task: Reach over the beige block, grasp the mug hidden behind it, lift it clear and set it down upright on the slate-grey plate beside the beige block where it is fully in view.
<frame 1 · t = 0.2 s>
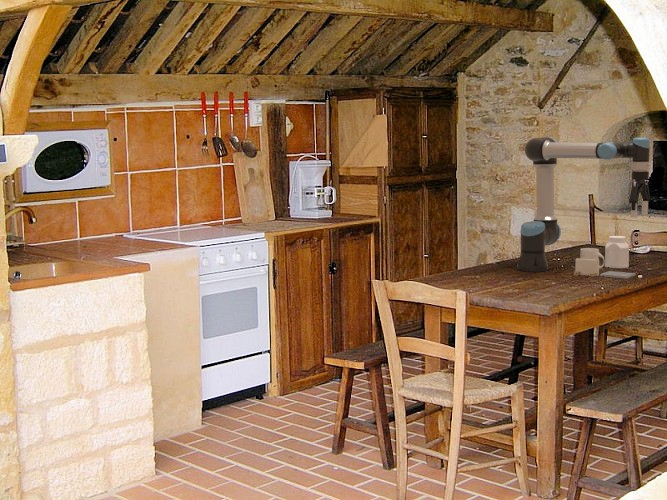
hand: (639, 216, 445), 28 cm above the table, fingers open, 13 cm apart
jar: (616, 267, 472), on the table
mug: (592, 271, 459), on the table
plate: (617, 275, 444), on the table
beige block: (587, 275, 448), on the table
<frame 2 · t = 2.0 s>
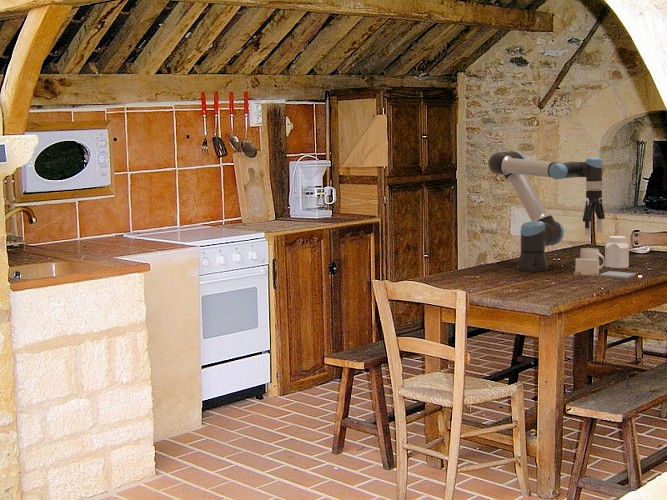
hand: (593, 233, 456), 18 cm above the table, fingers open, 13 cm apart
nothing on the table moved.
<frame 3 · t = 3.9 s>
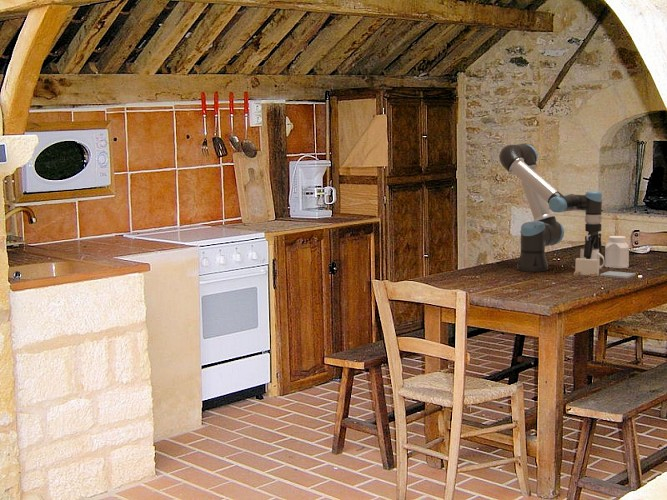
hand: (592, 269, 459), 1 cm above the table, fingers closed on mug, 9 cm apart
mug: (592, 271, 459), on the table, touching gripper
everything else where it was.
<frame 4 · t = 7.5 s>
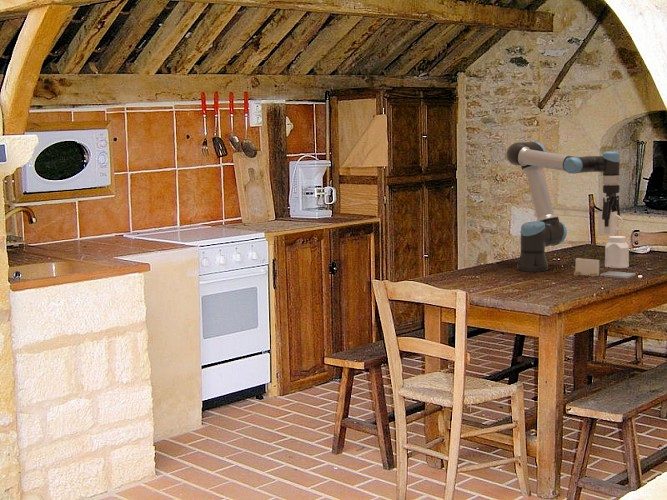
hand: (611, 232, 446), 20 cm above the table, fingers closed on mug, 9 cm apart
mug: (611, 234, 446), point 19 cm above the table, touching gripper
everything else where it was.
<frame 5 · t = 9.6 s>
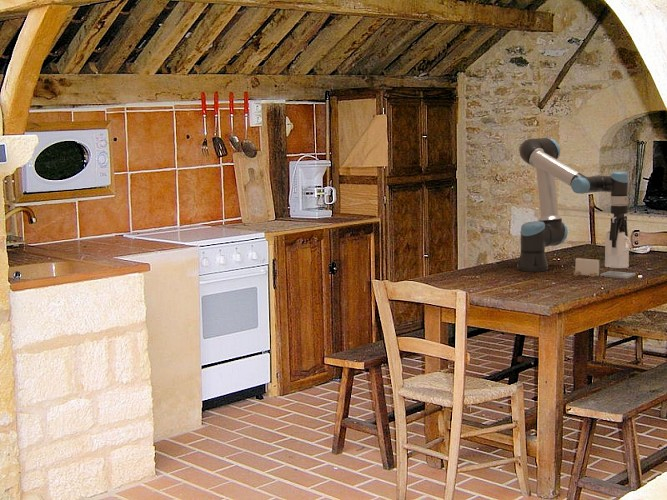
hand: (618, 253, 442), 11 cm above the table, fingers closed on mug, 9 cm apart
mug: (618, 255, 442), point 10 cm above the table, touching gripper
everything else where it was.
when the fingers open (3 cm above the table, at t = 11.4 s): mug drops 1 cm, resting on plate.
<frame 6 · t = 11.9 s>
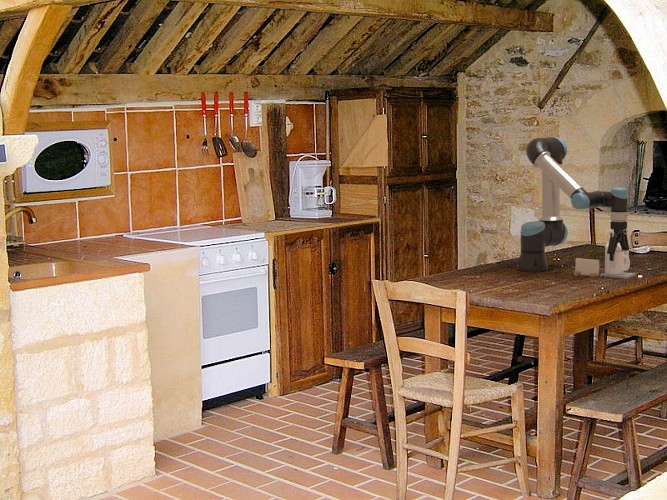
hand: (617, 266, 443), 5 cm above the table, fingers open, 13 cm apart
mug: (617, 274, 444), point 1 cm above the table, touching plate
everything else where it was.
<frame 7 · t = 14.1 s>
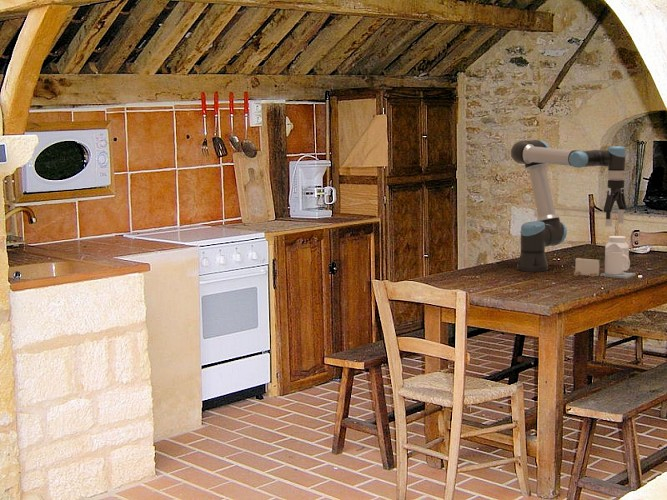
hand: (614, 224, 444), 24 cm above the table, fingers open, 13 cm apart
nothing on the table moved.
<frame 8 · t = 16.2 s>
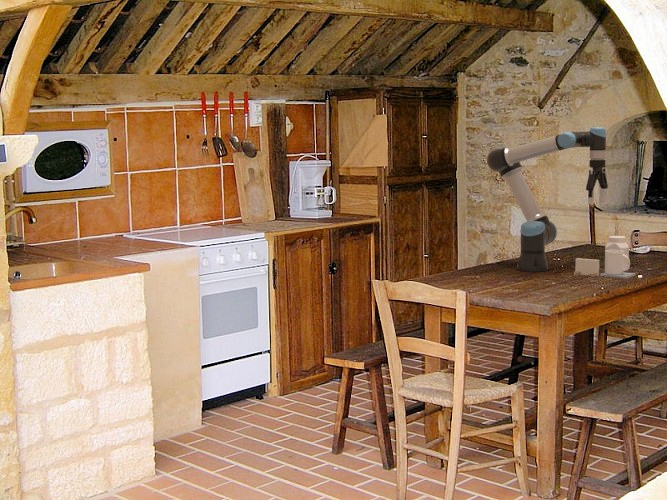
hand: (596, 203, 460), 33 cm above the table, fingers open, 13 cm apart
nothing on the table moved.
at the end: mug inside the target area on the plate (0.1 cm from its centre), point 0.8 cm above the plate's base; mug tilted 0°; the gripper is holding nothing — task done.
